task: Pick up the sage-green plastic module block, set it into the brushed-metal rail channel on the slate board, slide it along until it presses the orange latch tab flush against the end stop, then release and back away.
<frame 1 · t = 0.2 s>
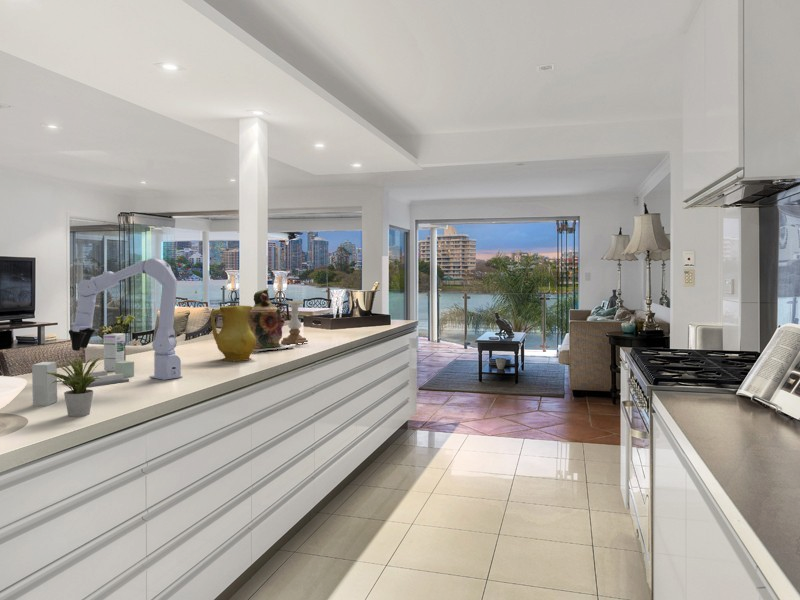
hand: (79, 349, 221), 10 cm above the counter, tool pointing down, fingers open, 7 cm apart
pitcher: (234, 359, 276), on the counter
skincare box: (44, 404, 176), on the counter
latch: (89, 378, 210), point 2 cm above the counter, slide at 3.0 cm
candle holder: (294, 344, 342), on the counter
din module: (124, 376, 225), on the counter
house plant: (80, 414, 165), on the counter
syrup box: (114, 370, 240), on the counter
cookie jar: (263, 349, 318), on the counter
rail board: (96, 382, 212), on the counter
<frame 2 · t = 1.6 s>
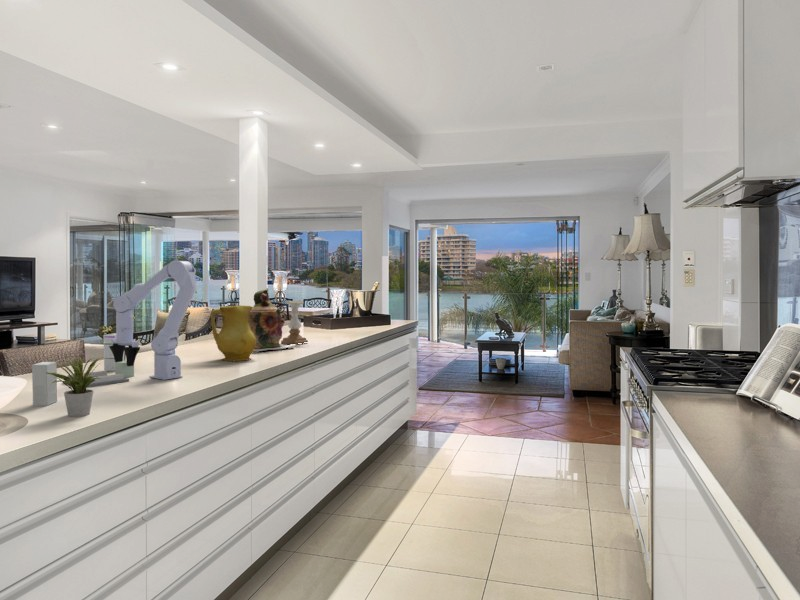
hand: (124, 364, 225), 4 cm above the counter, tool pointing down, fingers open, 7 cm apart
nothing on the counter moved.
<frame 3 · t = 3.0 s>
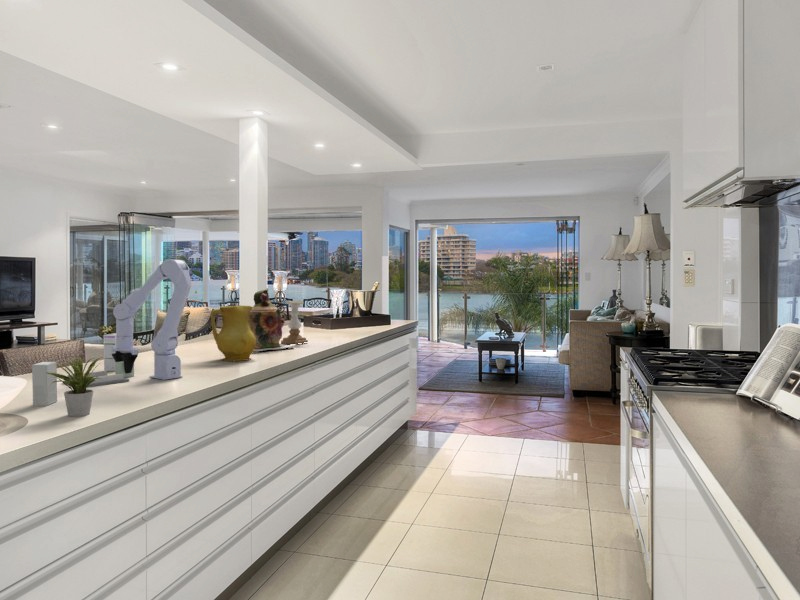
hand: (124, 372, 225), 2 cm above the counter, tool pointing down, fingers closed on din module, 4 cm apart
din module: (124, 376, 225), on the counter, touching gripper
everything else where it was.
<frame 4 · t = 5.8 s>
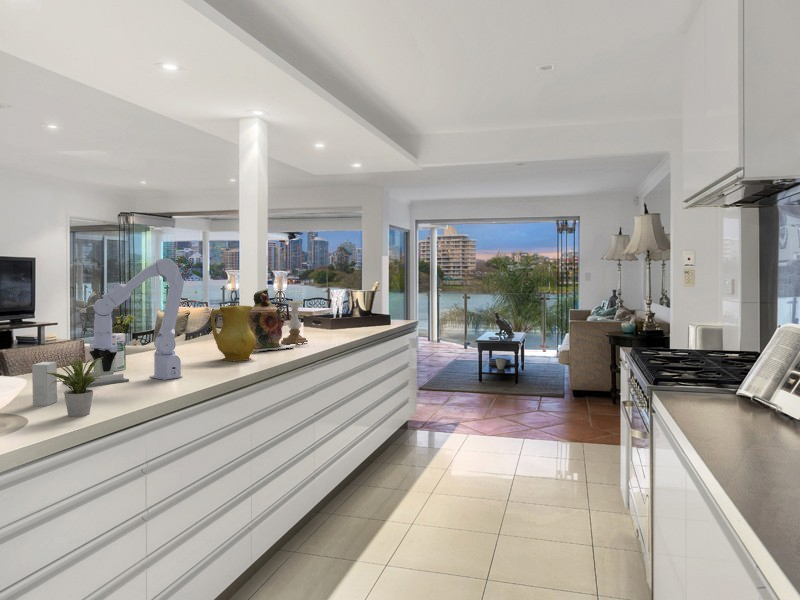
hand: (103, 370, 214), 4 cm above the counter, tool pointing down, fingers closed on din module, 4 cm apart
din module: (103, 375, 214), point 2 cm above the counter, touching gripper
everything else where it was.
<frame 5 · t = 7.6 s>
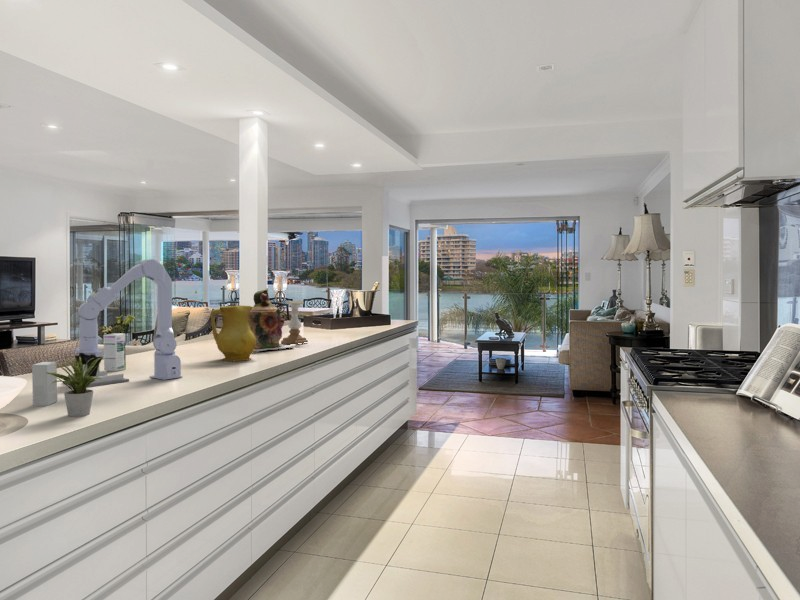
hand: (88, 375, 210), 3 cm above the counter, tool pointing down, fingers closed on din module, 4 cm apart
latch: (80, 379, 208), point 2 cm above the counter, slide at 0.1 cm, touching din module
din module: (89, 380, 210), point 1 cm above the counter, touching gripper, latch
everything else where it was.
when the fingers open (3 cm above the counter, at t = 8.7 s): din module stays where it is, resting on rail board.
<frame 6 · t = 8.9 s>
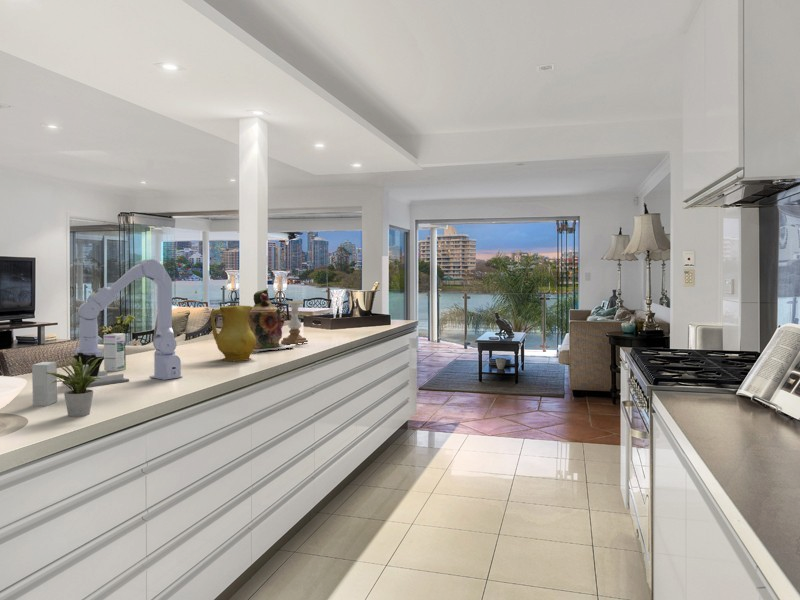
hand: (88, 375, 210), 3 cm above the counter, tool pointing down, fingers open, 6 cm apart
latch: (80, 379, 208), point 2 cm above the counter, slide at 0.0 cm
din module: (89, 380, 210), point 1 cm above the counter, touching rail board
everything else where it was.
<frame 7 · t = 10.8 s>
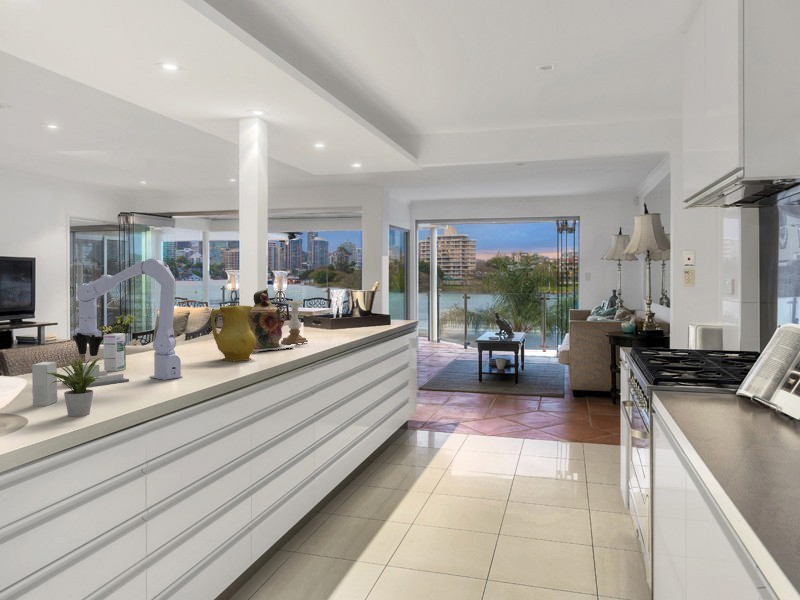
hand: (88, 355, 221), 8 cm above the counter, tool pointing down, fingers open, 7 cm apart
nothing on the counter moved.
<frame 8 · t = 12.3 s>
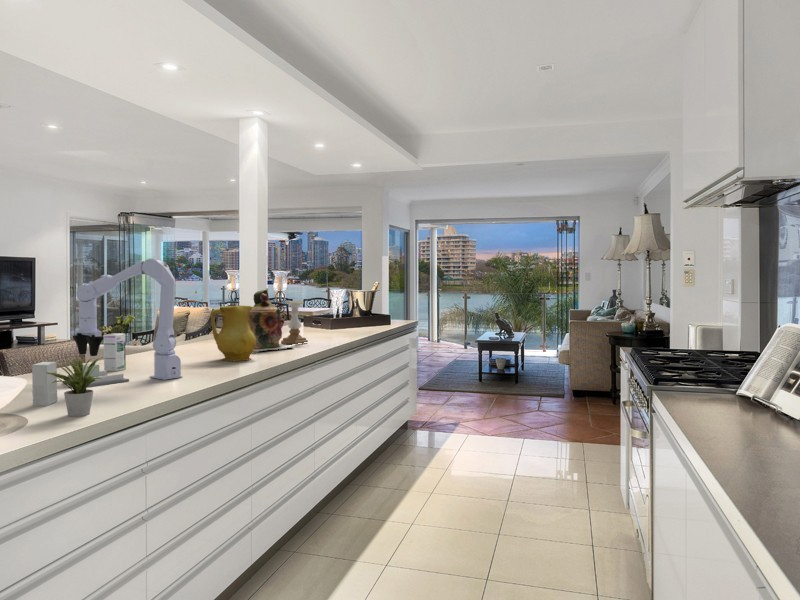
hand: (88, 355, 221), 8 cm above the counter, tool pointing down, fingers open, 7 cm apart
nothing on the counter moved.
at the end: latch slide at 0.0 cm; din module 0.2 cm from the target spot, point 0.8 cm above the counter; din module tilted 0° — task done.
